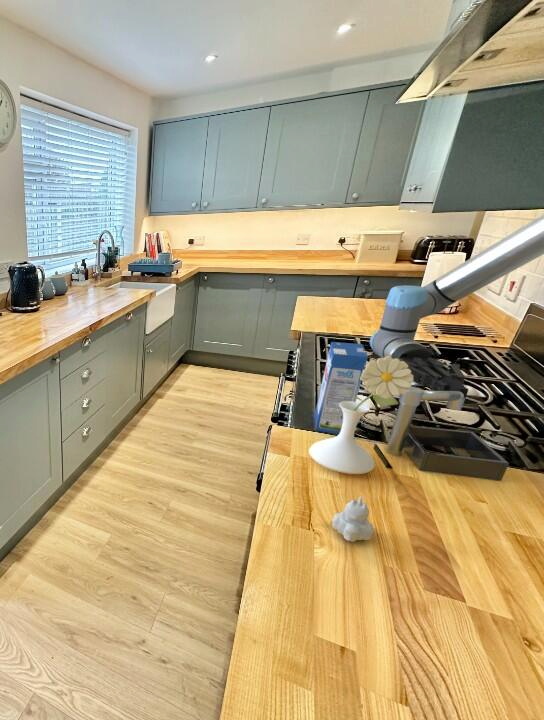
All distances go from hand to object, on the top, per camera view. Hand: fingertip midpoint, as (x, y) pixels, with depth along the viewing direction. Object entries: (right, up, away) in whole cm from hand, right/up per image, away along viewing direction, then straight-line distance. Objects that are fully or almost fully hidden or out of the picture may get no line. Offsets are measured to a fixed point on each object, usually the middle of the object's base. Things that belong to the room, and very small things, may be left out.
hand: (462, 395), depth 83 cm
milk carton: (-11, -8, +22) cm, 26 cm away
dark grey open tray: (-1, -15, +4) cm, 15 cm away
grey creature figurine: (-33, -24, -13) cm, 42 cm away
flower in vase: (-20, -15, +6) cm, 26 cm away
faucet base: (-9, -14, +7) cm, 18 cm away
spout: (-6, -2, +1) cm, 6 cm away
